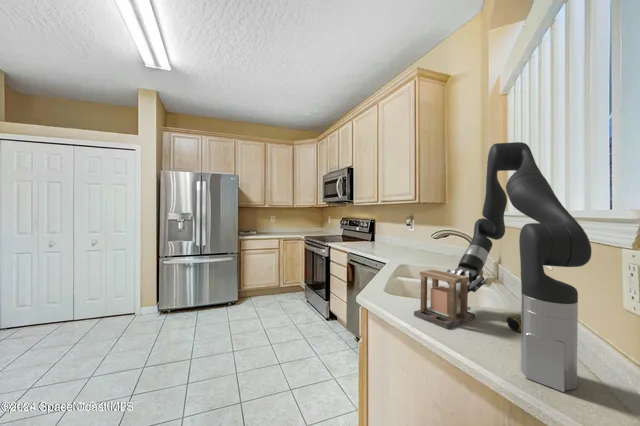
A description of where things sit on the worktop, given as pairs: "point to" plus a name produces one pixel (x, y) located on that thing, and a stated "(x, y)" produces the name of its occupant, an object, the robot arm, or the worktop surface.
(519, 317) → the tape measure
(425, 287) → the brown table-shaped piece
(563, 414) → the worktop surface
